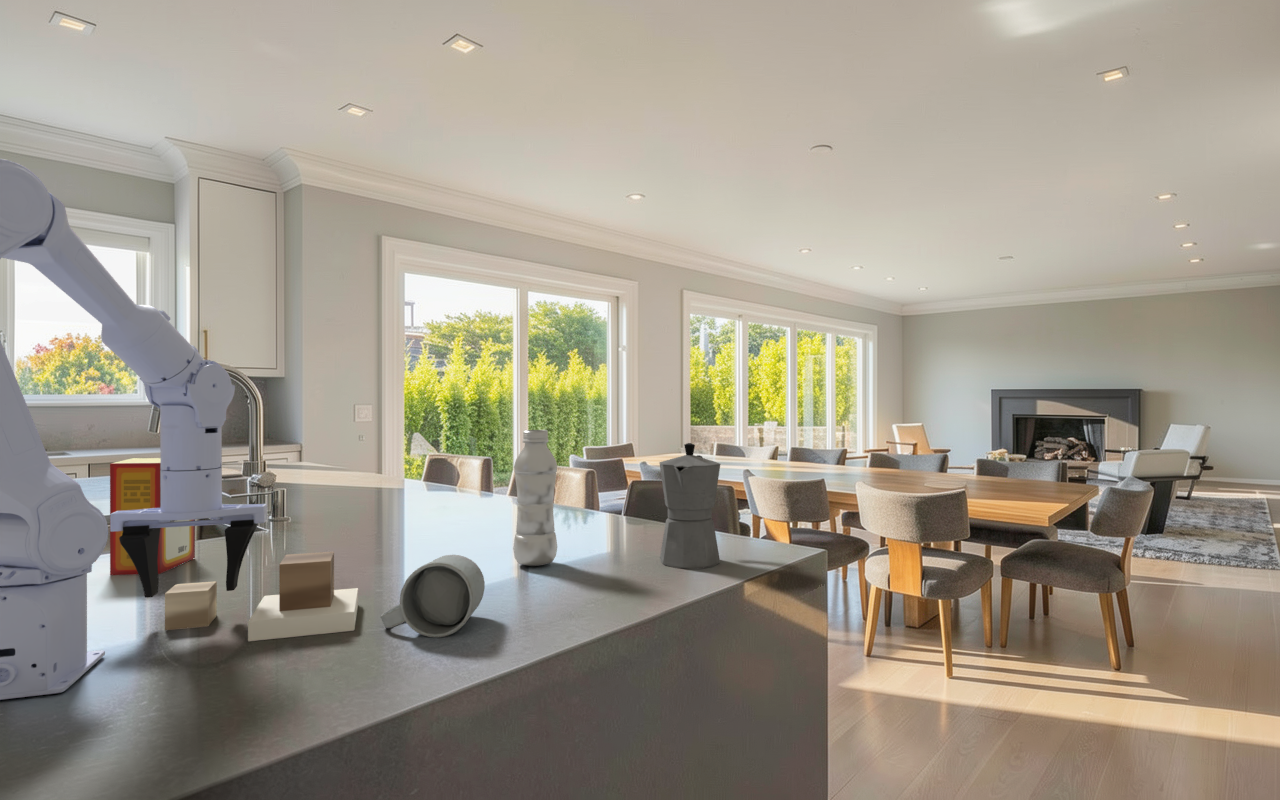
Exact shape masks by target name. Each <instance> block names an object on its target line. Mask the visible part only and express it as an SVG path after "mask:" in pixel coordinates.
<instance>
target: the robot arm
mask: <svg viewBox="0 0 1280 800" xmlns="http://www.w3.org/2000/svg"><path fill="white" fill-rule="evenodd" d="M88 247H89V246H87V245H86V244H85V243H84V241H83V240H82V239H81V238H80V237H79V236H78V234H77V233H76V232H75V231H74V230H73V228H72V227H71V225H70V223H69V219H68V214H67V210H66V206H65V204H64V203H63V202H62V201H61V200H60V199H59V198H58V197H56V196H55V195H54V194H53V193H52V192H49V191H48V188H47V187H46V185H45V183H44V182H43V181H42V180H41V179H40V177H38V176H37V175H36V173H34V172H33V171H32V170H30V169H29V168H28V167H26V166H25V165H22V164H20V163H18V162H15V161H14V160H13V161H12V160H10V159H5V158H0V260H1V259H5V260H11V261H16V262H21V263H25V264H28V265H30V266H32V267H34V268H35V269H36V270H37V271H39V272H40V274H42V275H43V276H44V277H45V278H46V279H48V280H49V281H50V282H52V283H53V284H54V285H55V286H56V287H57V288H58V289H60V290H61V291H62V292H64V294H66V295H67V296H68V297H70V299H71V300H73V301H74V302H75V303H76V304H77V305H78V306H80V307H81V308H83V310H85V312H87V313H89V315H91V316H92V317H93V318H94V319H95V320H97V321H98V322H99V323H100V324H101V334H100V337H101V341H102V343H103V344H104V346H106V347H107V348H108V349H109V350H110V351H111V352H113V353H114V354H115V356H117V357H118V358H119V359H120V360H121V361H122V362H123V363H124V364H125V365H126V366H127V367H128V368H129V369H130V370H132V371H133V372H134V373H135V374H136V375H137V376H138V377H139V380H140V381H141V382H142V384H143V385H144V393H145V395H146V399H147V401H148V402H149V404H151V405H152V406H154V407H156V408H157V409H159V418H160V419H159V422H160V423H159V426H160V427H159V428H160V429H159V432H160V433H159V434H160V435H159V436H160V438H159V439H160V441H159V442H160V443H159V444H160V445H159V446H160V451H159V452H160V453H159V454H160V457H159V458H160V459H161V470H160V487H161V508H150V509H139V510H125V511H116V512H113V513H111V514H110V513H109V525H108V521H107V519H106V517H105V515H104V514H103V512H102V511H101V510H100V509H99V508H98V507H96V506H95V505H93V503H91V502H90V501H89V499H88V498H86V496H85V494H84V492H83V489H82V487H81V485H80V483H78V481H76V480H74V479H73V478H72V477H71V476H69V475H68V474H66V473H65V472H63V471H62V470H61V469H59V468H58V467H57V466H55V465H54V464H53V463H52V462H51V461H50V458H49V455H48V454H47V450H46V448H45V445H44V444H43V441H42V438H41V435H40V433H39V431H38V429H37V426H36V424H35V422H34V419H33V416H32V414H31V412H30V409H29V407H28V404H27V402H26V399H25V397H24V395H23V392H22V390H21V388H20V385H19V382H18V380H17V378H16V375H15V373H14V371H13V367H12V365H11V363H10V361H9V358H8V356H7V353H6V351H5V348H4V346H3V344H2V341H1V340H0V701H1V700H9V699H11V700H12V699H16V698H25V697H26V698H27V697H36V696H43V695H53V694H60V693H63V692H65V691H67V690H68V689H69V688H70V687H71V686H72V685H73V684H74V683H76V681H78V680H79V679H80V678H82V676H83V675H84V674H86V673H87V672H88V671H89V669H91V668H92V667H93V666H94V665H95V664H97V662H99V661H100V660H101V659H102V658H103V657H104V656H105V654H106V652H105V650H103V649H101V650H93V651H92V650H89V651H88V574H89V573H92V571H93V570H92V569H93V568H92V567H93V564H95V562H96V561H97V560H98V559H99V558H100V556H101V555H102V553H103V552H104V550H105V548H106V545H107V543H108V538H109V532H110V531H111V532H114V531H123V533H122V536H120V537H119V540H120V543H121V545H122V546H123V548H124V549H125V550H126V552H127V553H128V555H129V557H130V558H131V560H132V562H133V563H134V565H135V567H136V570H137V572H138V574H137V575H138V576H139V581H140V583H141V585H142V589H143V594H144V598H146V599H147V598H153V597H155V595H157V594H158V593H159V584H160V582H159V574H158V545H159V536H160V528H166V527H184V526H195V527H197V526H199V527H200V526H201V527H202V526H215V525H230V526H227V527H226V528H225V529H224V538H225V546H226V561H227V562H226V577H225V578H226V579H225V588H226V592H228V591H230V592H231V591H235V590H236V588H237V587H238V582H239V581H238V580H239V576H240V575H239V574H240V570H241V568H242V563H243V561H244V557H245V554H246V551H247V549H248V546H249V544H250V542H251V539H252V538H253V536H254V534H255V532H256V530H257V527H258V524H265V523H266V522H267V521H268V508H267V507H268V504H267V503H257V504H256V503H250V504H249V503H247V504H245V503H242V504H240V503H239V504H238V503H235V504H234V503H233V504H231V503H227V504H226V503H223V483H222V482H223V480H222V479H223V478H222V477H223V468H222V467H223V466H222V465H223V463H222V462H223V460H222V459H223V449H222V448H223V447H222V446H223V445H222V442H223V441H222V437H223V435H222V434H223V433H222V431H223V430H222V429H223V426H224V424H225V422H226V421H227V410H228V407H229V405H230V404H231V403H232V401H233V400H234V399H233V398H234V396H235V393H236V392H235V391H236V385H235V384H232V383H233V382H232V379H231V376H230V375H229V372H228V371H227V370H226V369H225V368H224V367H223V366H222V365H221V364H220V363H218V362H216V361H214V360H211V359H204V357H203V356H202V355H201V354H200V353H199V352H200V351H199V350H198V348H197V347H196V346H195V345H193V344H191V343H190V342H189V341H188V339H186V338H185V337H184V336H183V334H181V333H180V332H179V331H178V330H177V329H176V327H175V326H173V324H172V323H171V322H170V320H171V317H170V316H169V314H167V313H166V311H164V310H162V309H160V310H158V309H157V308H156V307H154V306H152V305H147V304H136V303H135V302H134V300H133V299H131V296H129V295H128V294H127V292H125V290H124V289H123V288H122V287H121V285H119V283H118V282H117V280H115V278H114V277H113V275H111V273H110V272H109V271H108V270H107V268H105V266H104V265H103V264H102V263H101V262H100V261H99V259H98V258H97V257H96V256H95V255H94V254H93V252H92V251H91V250H90V249H89V248H88ZM194 519H195V521H178V522H170V520H194ZM204 519H205V520H204Z"/></svg>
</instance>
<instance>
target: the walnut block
mask: <svg viewBox="0 0 1280 800" xmlns="http://www.w3.org/2000/svg"><path fill="white" fill-rule="evenodd" d="M278 569H279V571H278V572H279V578H278V579H279V580H278V581H279V582H278V583H279V585H278V586H279V588H278V589H279V593H278V595H279V611H289V610H300V609H311V608H322V607H331V604H332V600H333V597H334V590H335V551H324V552H323V551H322V552H308V553H307V552H306V553H291V554H290V553H289V554H285V555H284V557H283V558H282V560H281V561H280V563H279V568H278Z"/></svg>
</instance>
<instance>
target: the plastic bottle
mask: <svg viewBox="0 0 1280 800" xmlns="http://www.w3.org/2000/svg"><path fill="white" fill-rule="evenodd" d="M522 433H523V435H522V436H523V437H522V444H523V443H524V445H523V448H522V450H521V451H520V452H519V454H518V456H517V458H516V459H515V461H514V465H513V468H514V470H513V471H514V479H515V487H516V495H517V496H516V497H517V498H516V500H517V517H516V518H517V519H516V531H515V534H514V539H513V547H512V550H513V555H514V559H515V560H516V562H517V563H518V564H519V565H522V566H523V565H524V566H529V567H530V566H531V567H538V566H539V567H540V566H544V565H548V564H551V563H553V561H554V559H556V557H557V551H558V542H557V541H558V540H557V535H556V532H555V531H556V529H555V520H554V519H555V517H554V499H555V488H556V487H555V486H556V481H557V472H558V464H557V460H556V458H555V456H554V454H553V453H552V451H551V450H550V449H549V448H548V446H547V443H549V437H548V436H549V434H548V433H549V432H548V430H547V429H524V430H523V432H522Z"/></svg>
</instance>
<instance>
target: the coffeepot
mask: <svg viewBox="0 0 1280 800" xmlns="http://www.w3.org/2000/svg"><path fill="white" fill-rule="evenodd" d="M683 446H684V450H685V455H681V456H678V457H674V458H671V459H666V460H663V461H662V460H661V461H659V462H658V463H659V467H660V468H659V469H660V476H661V482H662V483H661V485H662V490H663V491H662V492H663V499H664V505H665V506H666V507H667V518H666V519H665V524H664V531H663V537H662V542H661V548H660V549H661V550H660V555H659V560H660V562H661V564H662V565H664V566H667V567H671V568H675V569H682V570H683V569H684V570H685V569H688V570H690V569H691V570H698V569H707V568H714V567H716V566H717V565H718V564H719V563H721V559H720V553H719V548H718V547H719V546H718V542H717V535H716V528H715V523H714V522H715V521H714V519H712V511H713V509H712V508H714V507H715V504H716V497H717V490H718V484H719V483H718V482H719V476H720V469H721V463H719V462H717V461H715V460H710V459H708V458H704V457H703V456H702V455H698V454H697V455H694V453H695V447H696V444H694V443H691V442H688V443H685V444H683Z"/></svg>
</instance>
